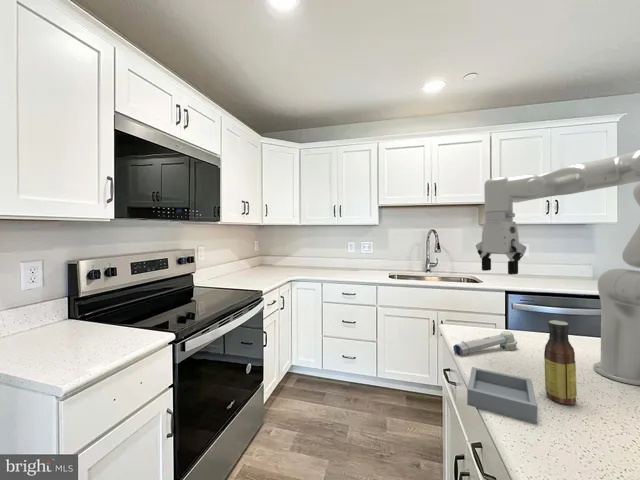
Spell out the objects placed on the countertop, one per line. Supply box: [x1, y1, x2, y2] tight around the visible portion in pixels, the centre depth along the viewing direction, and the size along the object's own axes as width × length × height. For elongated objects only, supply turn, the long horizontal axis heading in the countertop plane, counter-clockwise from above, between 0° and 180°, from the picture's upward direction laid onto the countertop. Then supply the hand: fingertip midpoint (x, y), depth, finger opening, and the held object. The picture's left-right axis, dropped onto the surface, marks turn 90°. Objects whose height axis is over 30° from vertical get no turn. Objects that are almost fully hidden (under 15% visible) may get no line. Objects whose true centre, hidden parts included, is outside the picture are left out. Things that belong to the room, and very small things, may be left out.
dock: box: [466, 366, 538, 425], centre depth 75 cm, size 14×14×4 cm
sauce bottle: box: [543, 319, 578, 406], centre depth 75 cm, size 6×6×20 cm
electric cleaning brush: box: [453, 330, 518, 357], centre depth 105 cm, size 5×7×25 cm
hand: (499, 272), depth 92 cm, fingers open, 9 cm apart
